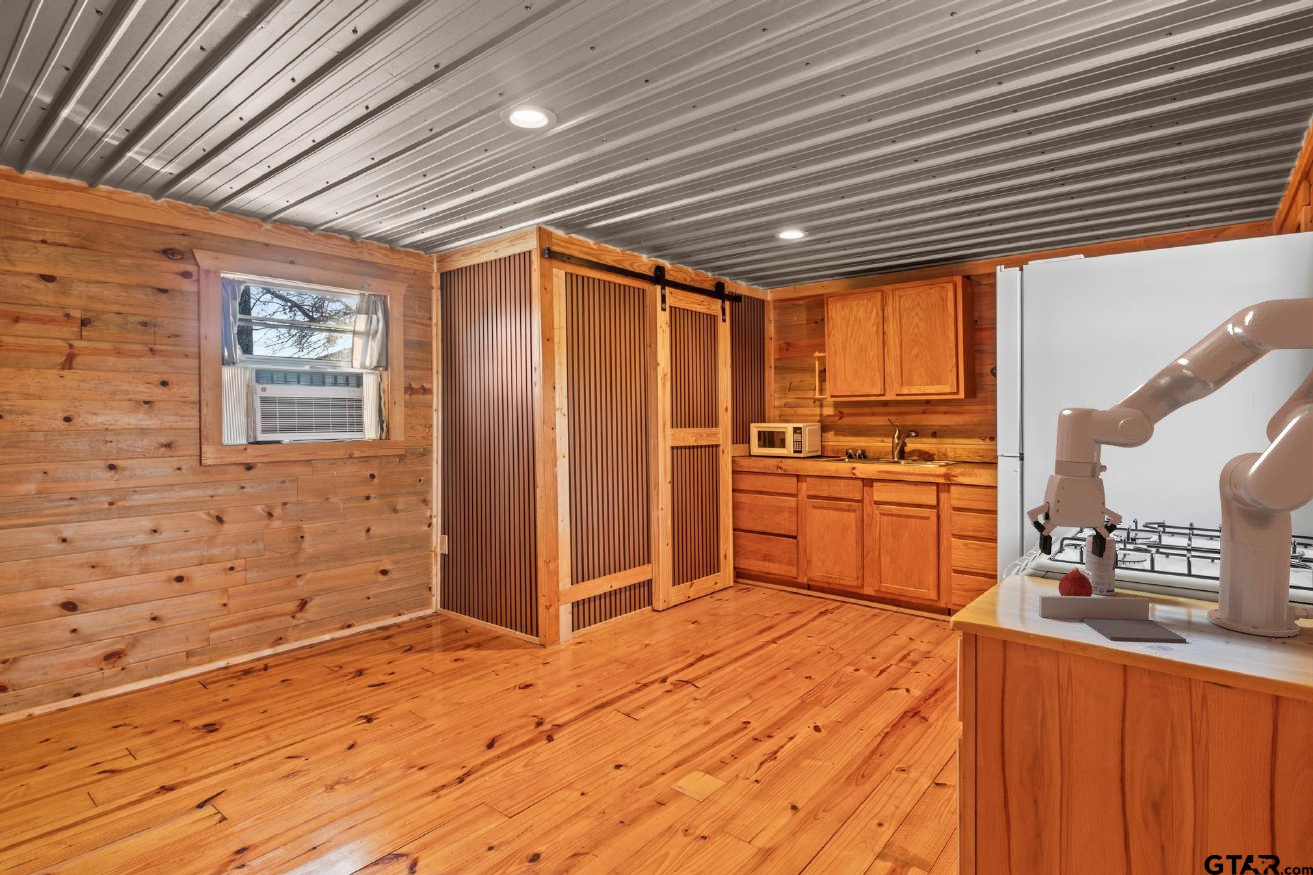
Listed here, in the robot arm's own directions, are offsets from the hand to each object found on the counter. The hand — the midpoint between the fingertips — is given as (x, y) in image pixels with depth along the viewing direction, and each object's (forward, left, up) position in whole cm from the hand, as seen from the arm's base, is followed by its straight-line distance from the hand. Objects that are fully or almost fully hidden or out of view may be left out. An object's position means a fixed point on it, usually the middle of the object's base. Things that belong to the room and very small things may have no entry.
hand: (1071, 554), depth 134 cm
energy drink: (-11, -11, -11) cm, 19 cm away
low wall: (-1, +7, -11) cm, 13 cm away
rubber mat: (-4, +14, -11) cm, 18 cm away
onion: (-1, 0, -11) cm, 11 cm away
